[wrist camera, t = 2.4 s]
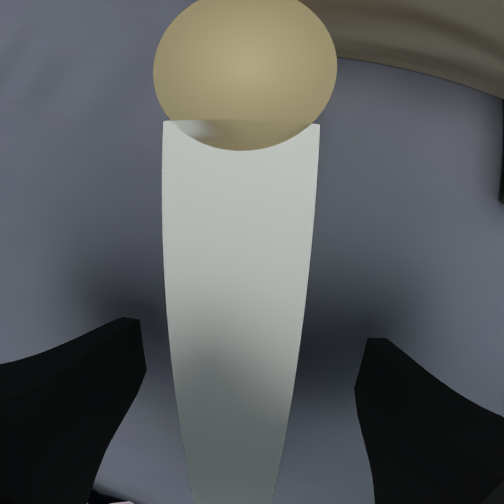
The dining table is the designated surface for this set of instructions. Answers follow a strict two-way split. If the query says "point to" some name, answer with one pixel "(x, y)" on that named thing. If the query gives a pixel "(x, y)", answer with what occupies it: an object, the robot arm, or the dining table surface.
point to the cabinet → (422, 37)
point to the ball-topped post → (239, 227)
